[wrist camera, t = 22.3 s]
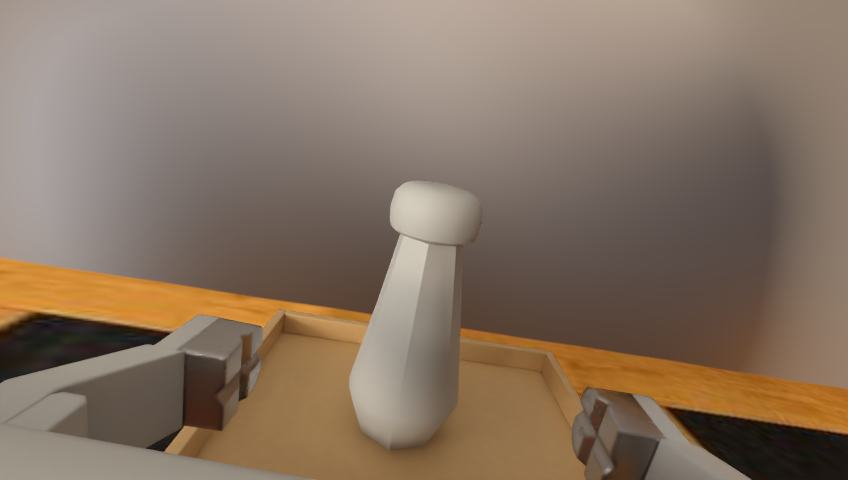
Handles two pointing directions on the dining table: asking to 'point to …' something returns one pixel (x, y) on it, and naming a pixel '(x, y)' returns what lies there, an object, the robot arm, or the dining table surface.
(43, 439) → the robot arm
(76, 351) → the dining table surface
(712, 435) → the dining table surface
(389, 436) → the salt shaker
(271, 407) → the tray
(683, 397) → the dining table surface
